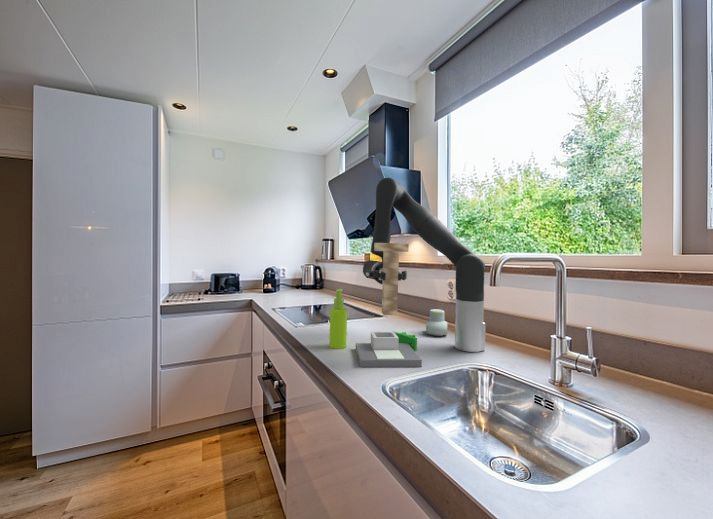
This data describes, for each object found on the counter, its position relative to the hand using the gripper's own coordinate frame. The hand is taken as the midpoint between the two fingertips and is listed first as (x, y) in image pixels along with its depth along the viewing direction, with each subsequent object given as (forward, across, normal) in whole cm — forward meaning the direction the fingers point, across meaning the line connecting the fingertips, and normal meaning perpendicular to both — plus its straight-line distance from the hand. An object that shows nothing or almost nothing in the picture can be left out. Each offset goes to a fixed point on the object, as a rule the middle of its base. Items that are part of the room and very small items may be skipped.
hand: (392, 276), depth 92 cm
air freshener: (-35, +26, +26) cm, 51 cm away
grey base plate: (-7, 0, +26) cm, 27 cm away
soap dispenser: (-19, -15, +26) cm, 36 cm away
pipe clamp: (-18, +9, +27) cm, 33 cm away
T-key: (-3, 0, +12) cm, 12 cm away
